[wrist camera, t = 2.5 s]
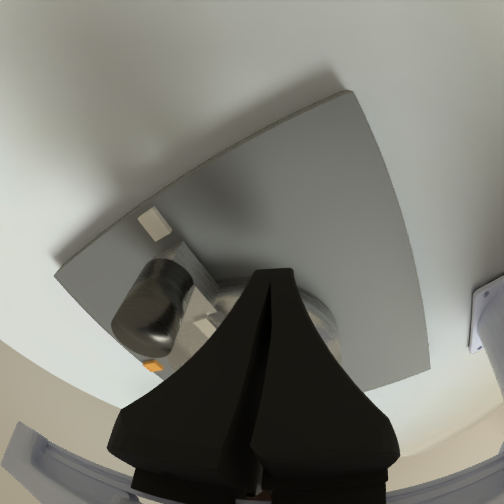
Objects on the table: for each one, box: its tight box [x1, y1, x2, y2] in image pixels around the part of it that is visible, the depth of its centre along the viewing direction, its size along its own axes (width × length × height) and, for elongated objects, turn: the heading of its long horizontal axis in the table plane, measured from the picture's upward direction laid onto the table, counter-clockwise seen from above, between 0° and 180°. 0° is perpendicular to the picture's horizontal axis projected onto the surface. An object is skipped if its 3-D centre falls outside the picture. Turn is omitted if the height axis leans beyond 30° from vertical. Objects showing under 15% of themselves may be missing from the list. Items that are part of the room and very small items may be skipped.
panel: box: [54, 90, 430, 392], centre depth 17 cm, size 20×20×2 cm
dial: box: [111, 241, 342, 372], centre depth 14 cm, size 13×10×5 cm
